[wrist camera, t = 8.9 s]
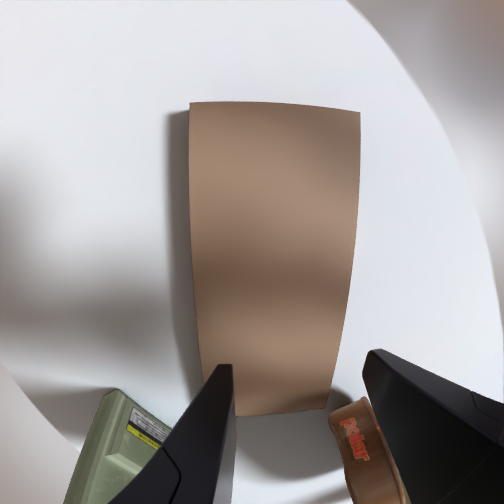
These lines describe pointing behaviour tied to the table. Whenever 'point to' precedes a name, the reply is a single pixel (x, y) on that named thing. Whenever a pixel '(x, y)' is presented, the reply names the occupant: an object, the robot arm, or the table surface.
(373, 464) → the tin
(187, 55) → the table surface
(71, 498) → the handheld radio
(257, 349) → the walnut board
